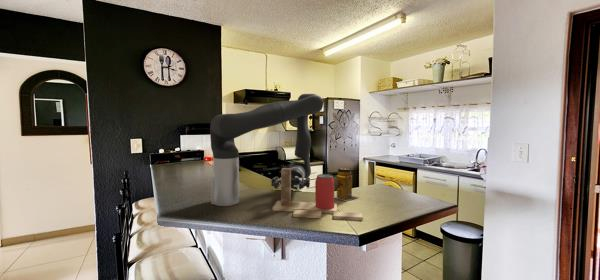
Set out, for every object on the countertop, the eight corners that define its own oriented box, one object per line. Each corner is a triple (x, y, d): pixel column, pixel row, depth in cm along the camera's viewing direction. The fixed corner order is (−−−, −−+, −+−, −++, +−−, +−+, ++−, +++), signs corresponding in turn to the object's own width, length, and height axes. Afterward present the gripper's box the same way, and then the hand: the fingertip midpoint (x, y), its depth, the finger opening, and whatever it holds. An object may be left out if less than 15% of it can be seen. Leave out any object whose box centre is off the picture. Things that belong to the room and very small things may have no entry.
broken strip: (292, 216, 84) (293, 213, 84) (294, 212, 88) (294, 209, 88) (362, 220, 82) (362, 217, 82) (361, 216, 86) (361, 213, 86)
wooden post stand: (272, 210, 90) (272, 170, 89) (277, 203, 98) (277, 166, 97) (337, 213, 88) (337, 172, 87) (336, 206, 96) (337, 168, 95)
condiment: (332, 197, 107) (332, 168, 107) (346, 194, 112) (346, 166, 112) (345, 201, 101) (345, 170, 101) (359, 198, 107) (360, 168, 106)
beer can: (331, 213, 88) (331, 178, 87) (313, 211, 90) (312, 176, 89) (336, 207, 94) (336, 174, 93) (318, 205, 96) (318, 173, 95)
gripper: (277, 167, 108) (268, 175, 92) (312, 168, 107) (308, 176, 91) (277, 185, 109) (268, 196, 93) (311, 186, 107) (308, 197, 91)
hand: (287, 186), depth 92 cm, fingers open, 8 cm apart
